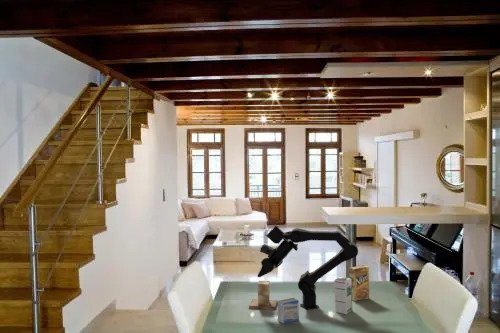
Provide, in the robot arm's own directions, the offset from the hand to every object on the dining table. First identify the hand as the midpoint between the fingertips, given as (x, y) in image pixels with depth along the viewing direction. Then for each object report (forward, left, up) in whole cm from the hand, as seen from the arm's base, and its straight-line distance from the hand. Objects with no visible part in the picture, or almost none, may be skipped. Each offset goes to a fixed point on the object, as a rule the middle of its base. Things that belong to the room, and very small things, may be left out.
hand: (260, 274), depth 204 cm
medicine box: (-24, -1, -14) cm, 27 cm away
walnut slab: (-3, 0, -14) cm, 15 cm away
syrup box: (-26, -28, -14) cm, 40 cm away
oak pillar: (-3, 0, -12) cm, 13 cm away
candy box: (-16, -45, -14) cm, 49 cm away
